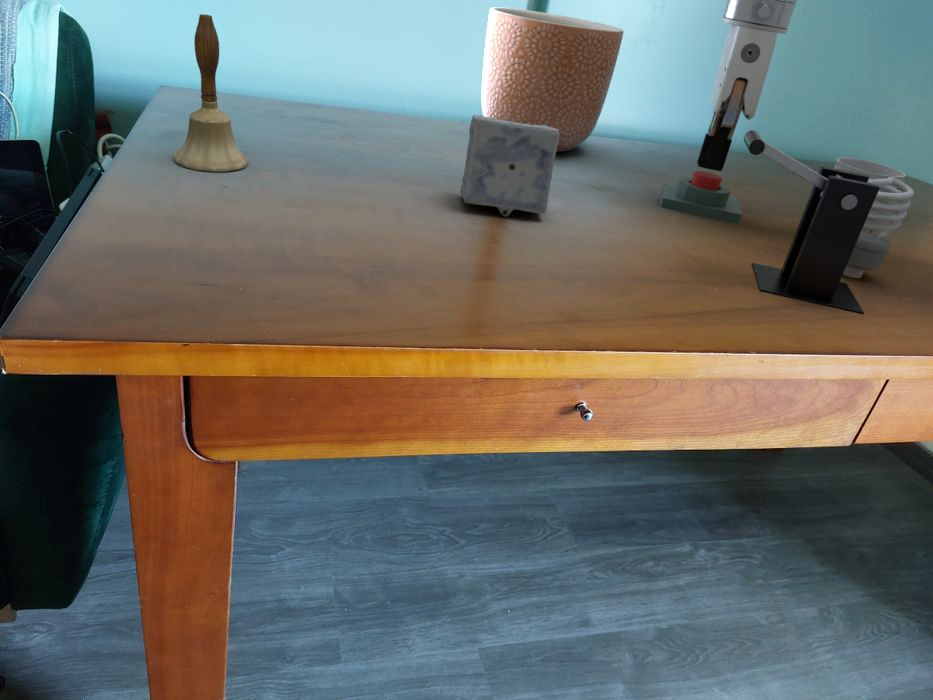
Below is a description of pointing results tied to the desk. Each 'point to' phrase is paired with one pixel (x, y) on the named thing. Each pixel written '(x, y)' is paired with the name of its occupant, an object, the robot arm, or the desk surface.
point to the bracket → (823, 243)
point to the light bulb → (879, 226)
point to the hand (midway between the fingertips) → (709, 167)
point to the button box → (700, 200)
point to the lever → (783, 159)
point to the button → (706, 180)
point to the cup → (869, 173)
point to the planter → (548, 71)
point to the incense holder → (509, 165)
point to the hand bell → (209, 114)
